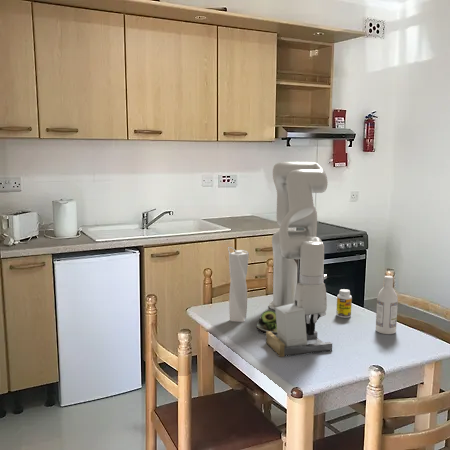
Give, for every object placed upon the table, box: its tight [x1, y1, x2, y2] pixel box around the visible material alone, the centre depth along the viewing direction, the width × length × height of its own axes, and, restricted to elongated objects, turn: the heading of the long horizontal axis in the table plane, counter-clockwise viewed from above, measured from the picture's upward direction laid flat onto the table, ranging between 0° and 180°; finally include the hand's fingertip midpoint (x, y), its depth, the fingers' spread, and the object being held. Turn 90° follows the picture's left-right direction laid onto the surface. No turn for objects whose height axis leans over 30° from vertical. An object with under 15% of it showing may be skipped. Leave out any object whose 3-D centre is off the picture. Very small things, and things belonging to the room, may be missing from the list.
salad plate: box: [256, 310, 278, 335], centre depth 181 cm, size 19×18×5 cm
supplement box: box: [274, 304, 307, 347], centre depth 161 cm, size 7×7×13 cm
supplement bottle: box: [336, 288, 353, 319], centre depth 194 cm, size 6×6×10 cm
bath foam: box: [375, 275, 399, 335], centre depth 177 cm, size 7×7×20 cm
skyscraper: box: [227, 246, 250, 323], centre depth 188 cm, size 8×8×28 cm
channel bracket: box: [265, 330, 333, 358], centre depth 163 cm, size 12×18×4 cm, turn 106°
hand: (309, 333), depth 164 cm, fingers closed
